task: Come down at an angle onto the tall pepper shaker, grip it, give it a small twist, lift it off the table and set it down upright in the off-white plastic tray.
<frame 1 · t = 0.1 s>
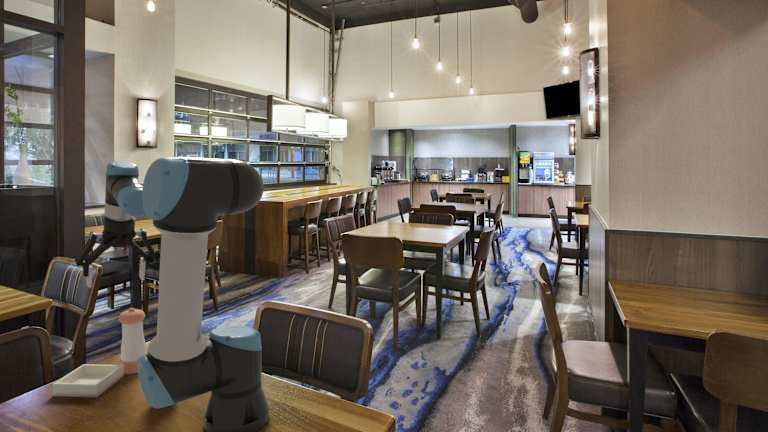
hand: (116, 281, 129), 28 cm above the table, tool tilted 20°, fingers open, 13 cm apart
pepper shaker: (134, 369, 133), on the table
pepper mill: (165, 401, 115), on the table
tray: (90, 385, 122), on the table
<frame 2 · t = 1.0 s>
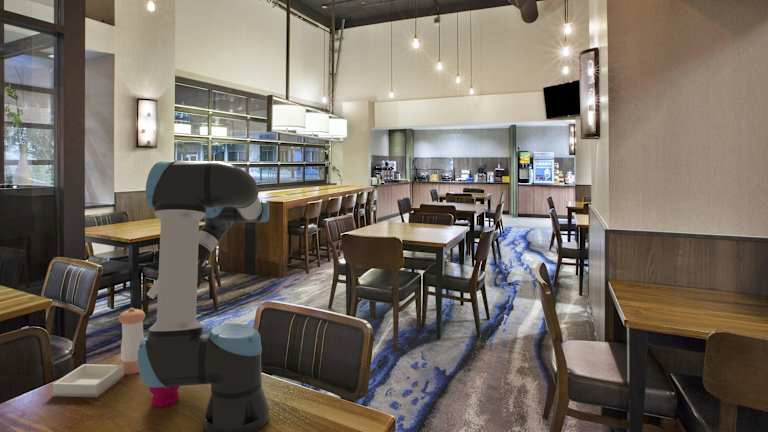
hand: (161, 300, 139), 19 cm above the table, tool tilted 45°, fingers open, 13 cm apart
nothing on the table moved.
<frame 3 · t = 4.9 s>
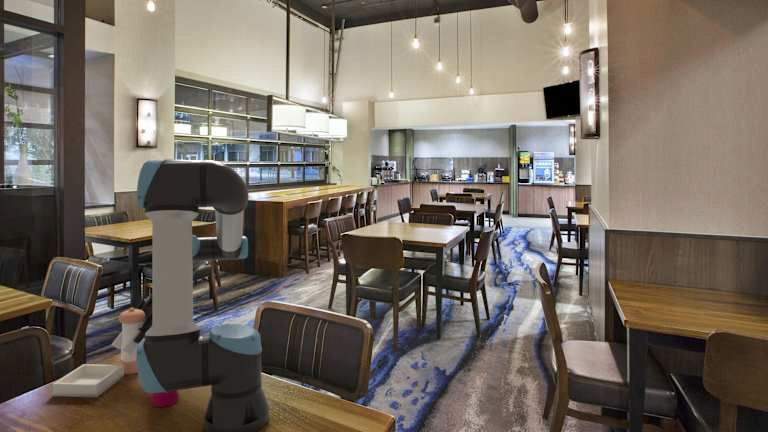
hand: (120, 349, 129), 7 cm above the table, tool tilted 45°, fingers closed on pepper shaker, 6 cm apart
pepper shaker: (134, 369, 133), on the table, touching gripper
everything else where it was.
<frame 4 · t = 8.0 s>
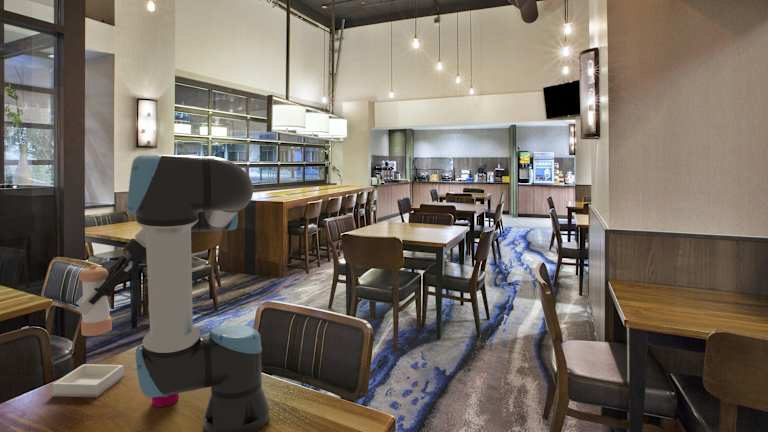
hand: (80, 308, 121), 22 cm above the table, tool tilted 45°, fingers closed on pepper shaker, 6 cm apart
pepper shaker: (97, 332, 123), point 15 cm above the table, touching gripper
everything else where it was.
when the fingers open (10 cm above the table, at t = 10.9 s): pepper shaker drops 2 cm, resting on tray.
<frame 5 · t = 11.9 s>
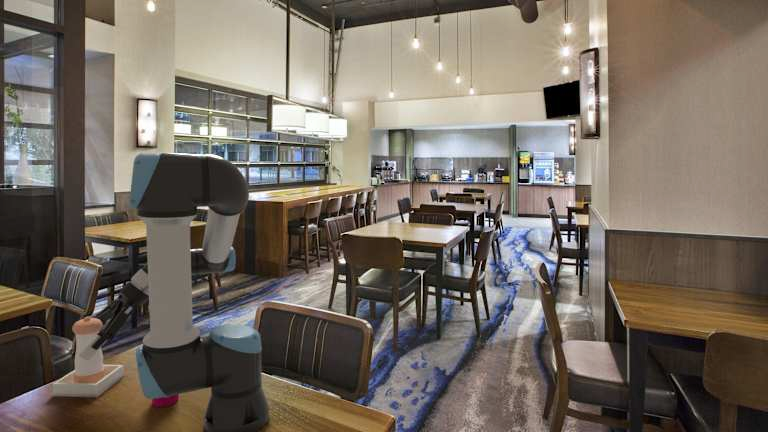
hand: (81, 349, 120), 11 cm above the table, tool tilted 45°, fingers open, 13 cm apart
pepper shaker: (89, 383, 122), point 1 cm above the table, touching tray
everything else where it was.
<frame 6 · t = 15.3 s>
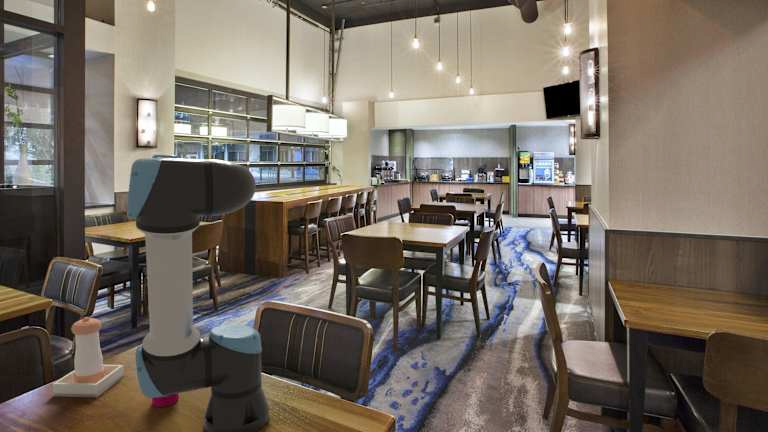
hand: (170, 276, 132), 29 cm above the table, tool pointing down, fingers open, 13 cm apart
nothing on the table moved.
at the end: pepper shaker inside the target area on the tray (0.1 cm from its centre), point 0.6 cm above the tray's base; pepper shaker tilted 0°; the gripper is holding nothing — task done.
